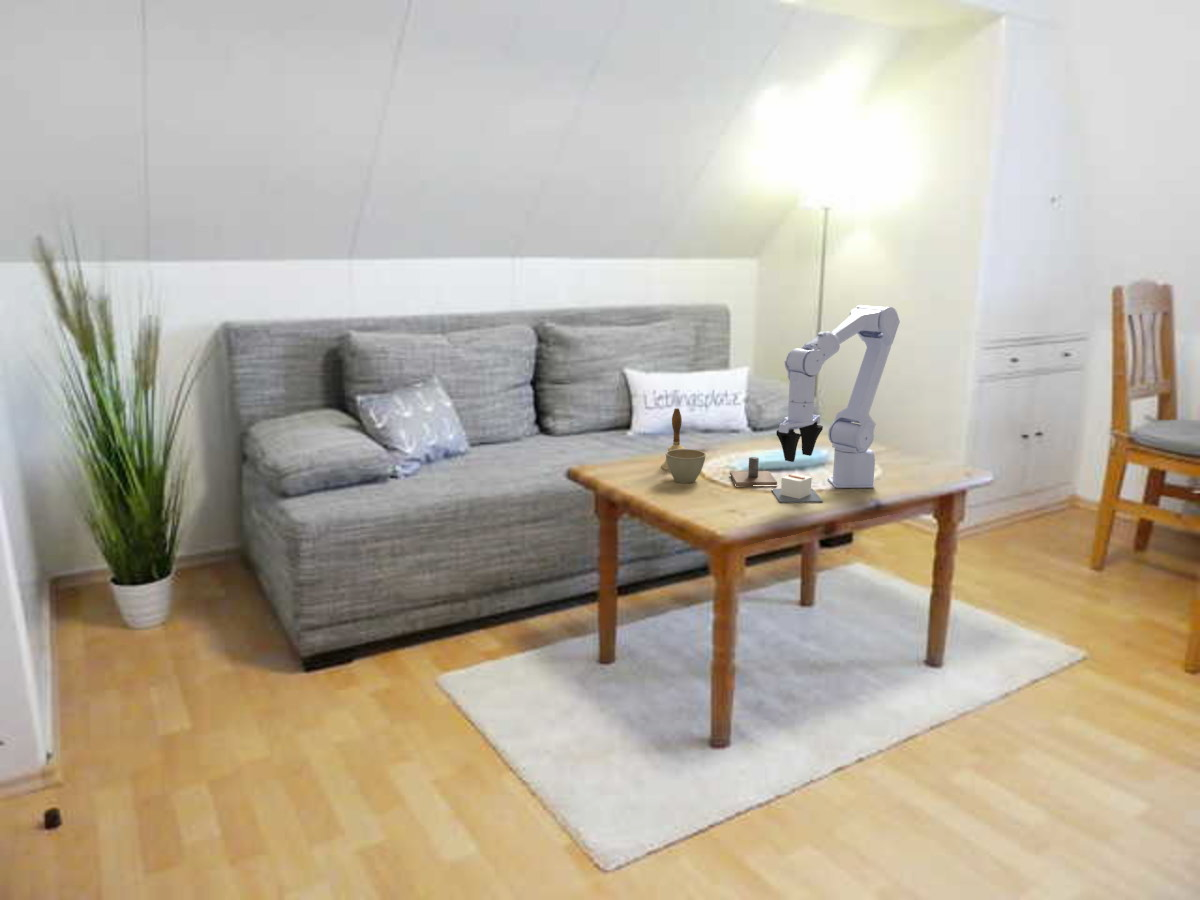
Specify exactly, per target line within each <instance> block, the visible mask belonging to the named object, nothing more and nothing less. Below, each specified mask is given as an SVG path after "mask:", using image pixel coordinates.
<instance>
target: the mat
mask: <svg viewBox="0 0 1200 900" xmlns="http://www.w3.org/2000/svg"><path fill="white" fill-rule="evenodd" d="M772 489H773V490H772V491H773V492H772V491H771V492H772V494H773V493H774V494H773V495H774V497H775V496H776V497H775V498H776V500H777V502H778V503H781V504H783V503H785V504H791V503H792V504H793V503H794V504H795V503H796V504H797V503H798V504H800V503H803V504H805V503H809V504H810V503H811V504H813V503H823V502H824V500H823V499H822V498H821V497H820V495H818V493H817V492H816V491H815V490H814V488H813V487H811V494H810V495H808V496H805V497H803V498H800V499H798V498H793V497H789V496H785V495H781V488H772Z"/></svg>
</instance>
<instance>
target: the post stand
mask: <svg viewBox="0 0 1200 900" xmlns="http://www.w3.org/2000/svg"><path fill="white" fill-rule="evenodd" d="M759 461H760V458H759V457H757V456H751V457H749V458H748V471H747V470H745V471H744V470H743V471H741V470H740V471H735V470H734V471H729V472H730V473H729V476H730V475H731V477H732V478H731V477H730V478H731V480H732V479H733V480H732V482H733V481H734V482H733V483H735V484H736V486H753V485H777V486H778V482H777V480H776V479H775V477H774V475H772V473H771V472H770V471H768V470H765V471H764V470H760V471H759ZM735 484H734V485H735ZM736 486H735V487H736Z"/></svg>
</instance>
